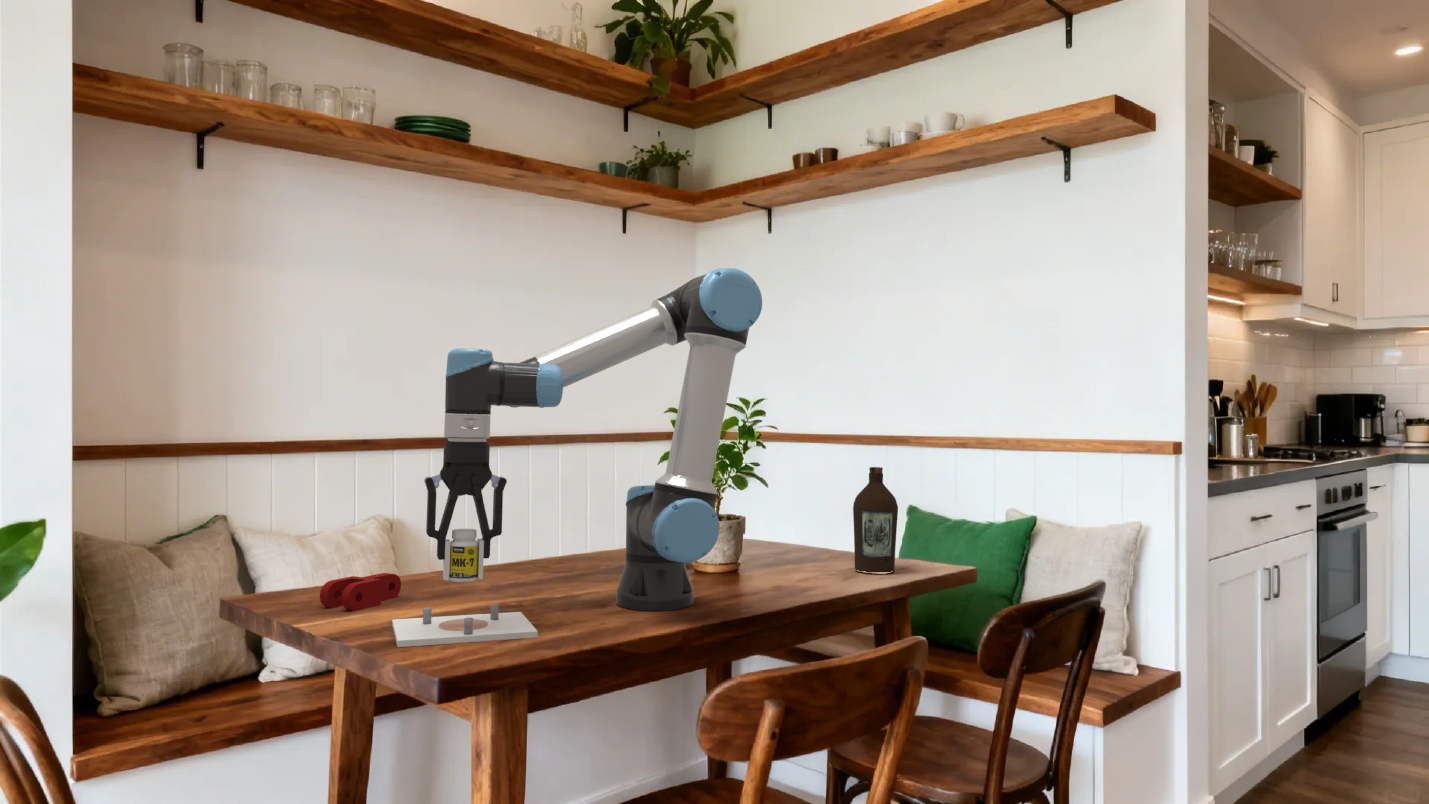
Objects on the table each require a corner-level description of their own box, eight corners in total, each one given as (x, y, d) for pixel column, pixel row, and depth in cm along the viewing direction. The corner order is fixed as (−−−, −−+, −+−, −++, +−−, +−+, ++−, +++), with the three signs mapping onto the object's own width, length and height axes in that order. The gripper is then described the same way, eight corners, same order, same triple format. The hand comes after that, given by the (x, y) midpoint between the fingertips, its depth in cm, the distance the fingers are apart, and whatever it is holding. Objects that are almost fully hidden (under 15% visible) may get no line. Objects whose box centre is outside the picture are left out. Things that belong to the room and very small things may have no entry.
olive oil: (850, 567, 235) (851, 465, 235) (893, 568, 234) (895, 466, 234) (854, 574, 224) (856, 468, 224) (900, 576, 224) (901, 469, 224)
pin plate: (520, 617, 172) (520, 597, 172) (537, 637, 158) (538, 616, 158) (392, 625, 164) (392, 604, 164) (397, 647, 149) (397, 624, 150)
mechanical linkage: (348, 613, 174) (349, 586, 174) (319, 609, 177) (320, 582, 177) (410, 598, 189) (410, 573, 189) (382, 595, 192) (382, 570, 192)
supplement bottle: (448, 582, 158) (449, 531, 158) (448, 577, 163) (449, 528, 163) (477, 581, 159) (479, 531, 159) (477, 577, 164) (478, 527, 164)
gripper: (413, 440, 155) (408, 584, 154) (524, 441, 161) (519, 580, 161) (410, 438, 161) (405, 576, 161) (516, 440, 168) (512, 573, 168)
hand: (462, 578), depth 161 cm, fingers closed on supplement bottle, 5 cm apart
